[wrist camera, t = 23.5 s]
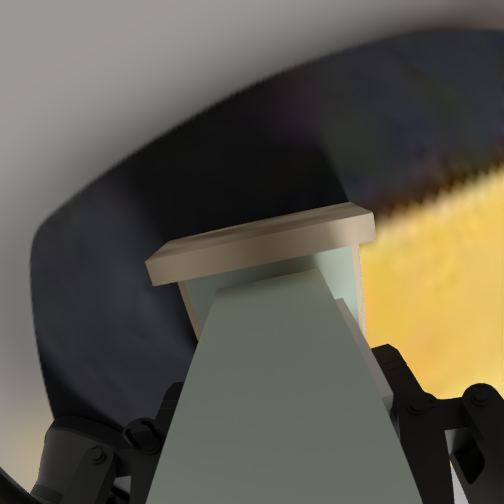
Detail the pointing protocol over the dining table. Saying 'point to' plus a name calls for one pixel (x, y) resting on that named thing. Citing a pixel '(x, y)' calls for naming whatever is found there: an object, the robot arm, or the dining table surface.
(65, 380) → the dining table surface
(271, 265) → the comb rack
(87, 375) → the dining table surface
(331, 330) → the sage plug
